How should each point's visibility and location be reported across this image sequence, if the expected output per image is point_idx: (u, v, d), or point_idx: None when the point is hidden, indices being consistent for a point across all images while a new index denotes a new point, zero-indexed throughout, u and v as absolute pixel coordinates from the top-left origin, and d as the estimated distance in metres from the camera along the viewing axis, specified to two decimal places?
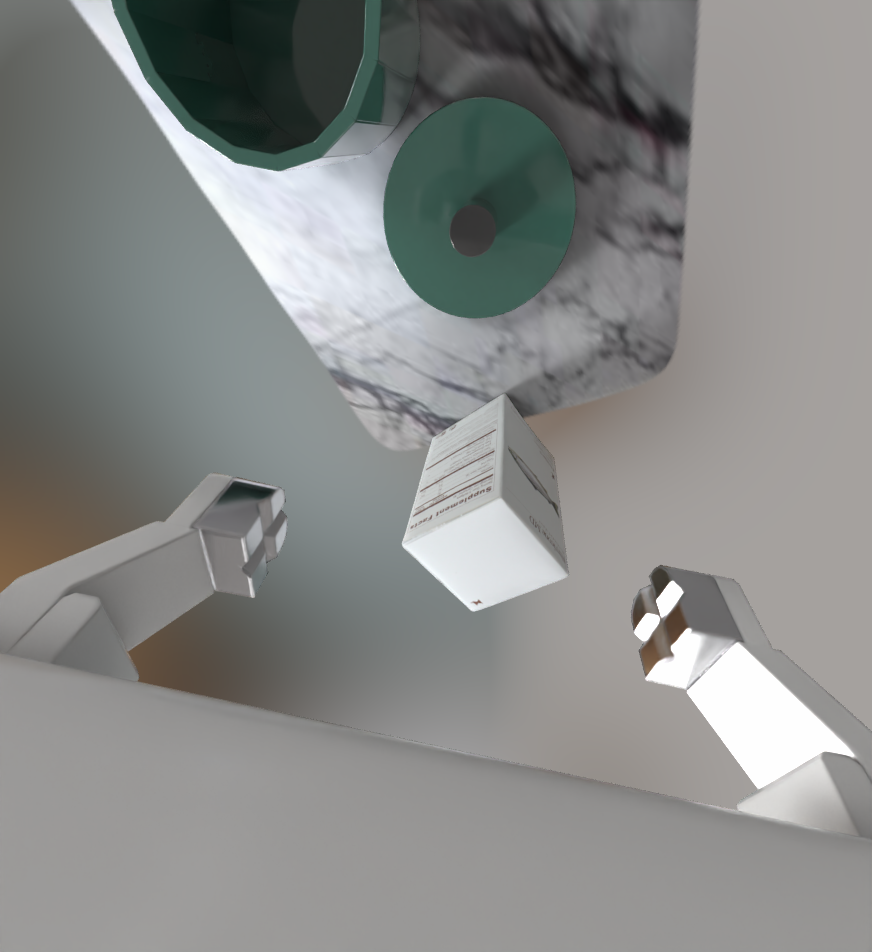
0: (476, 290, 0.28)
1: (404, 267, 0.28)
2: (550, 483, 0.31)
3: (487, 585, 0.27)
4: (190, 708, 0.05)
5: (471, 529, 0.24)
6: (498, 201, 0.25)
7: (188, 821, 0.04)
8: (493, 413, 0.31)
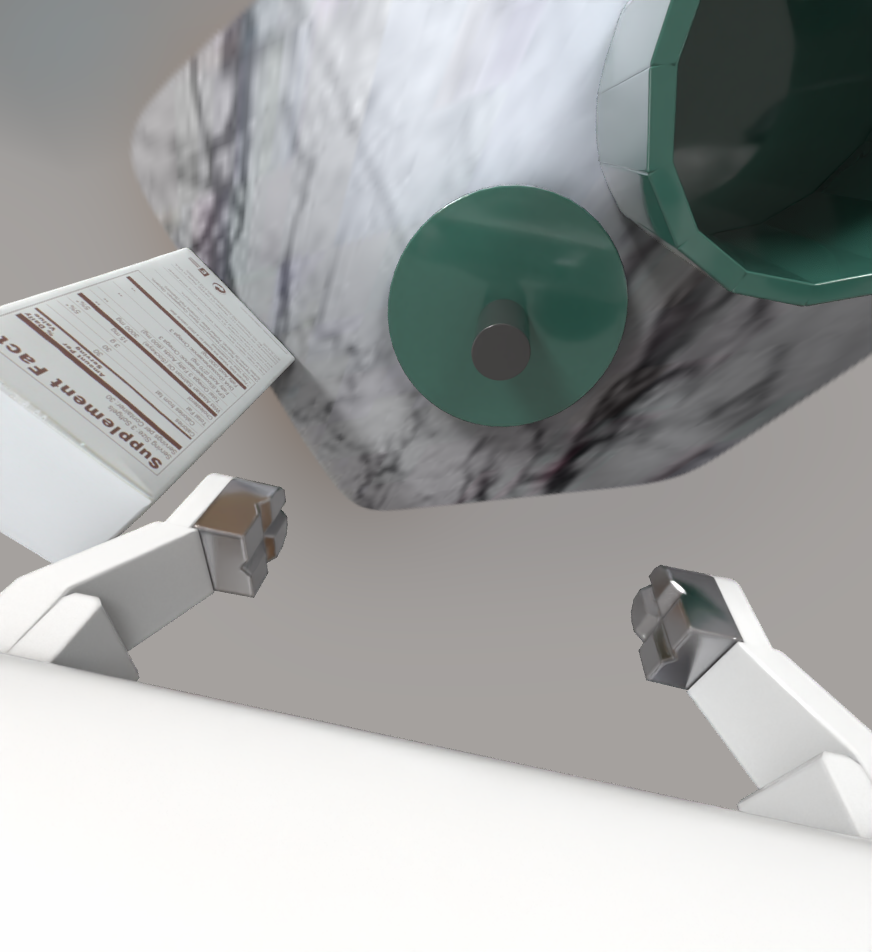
0: (423, 326, 0.21)
1: (449, 218, 0.18)
2: None
3: None
4: (190, 708, 0.05)
5: (63, 463, 0.14)
6: None
7: (188, 821, 0.04)
8: (264, 362, 0.22)
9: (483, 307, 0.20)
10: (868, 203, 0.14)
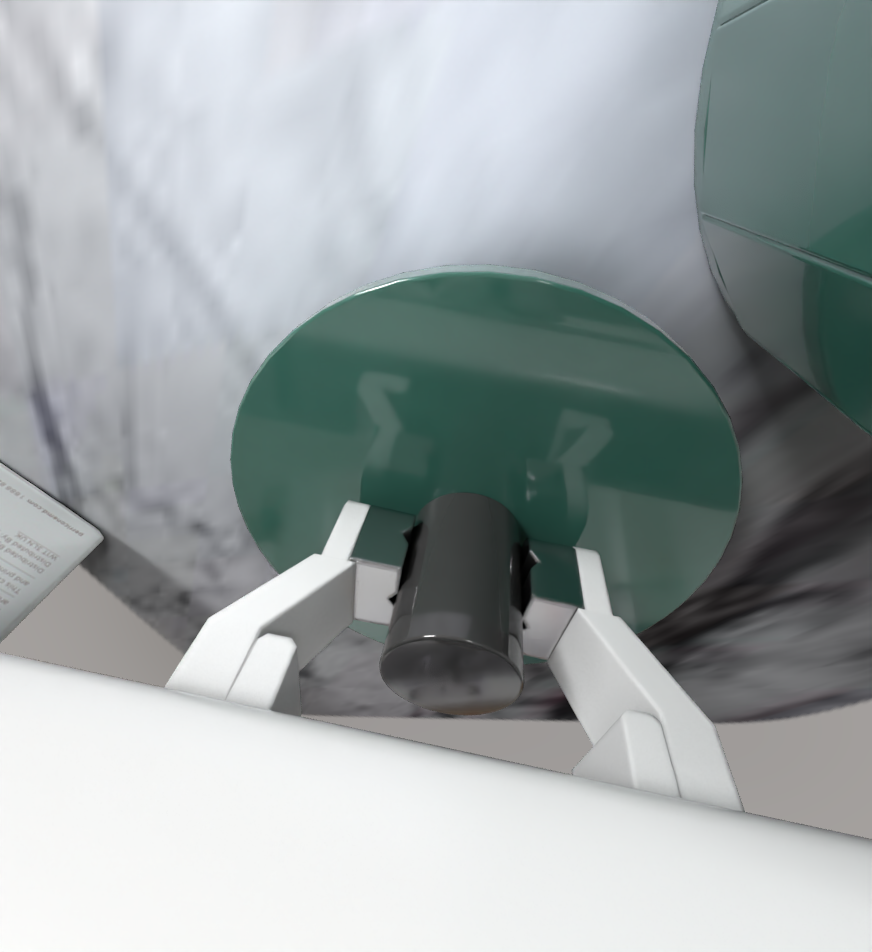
0: (309, 523, 0.11)
1: (330, 339, 0.08)
2: None
3: None
4: (190, 708, 0.05)
5: None
6: None
7: (188, 821, 0.04)
8: (8, 580, 0.11)
9: (425, 503, 0.10)
10: None
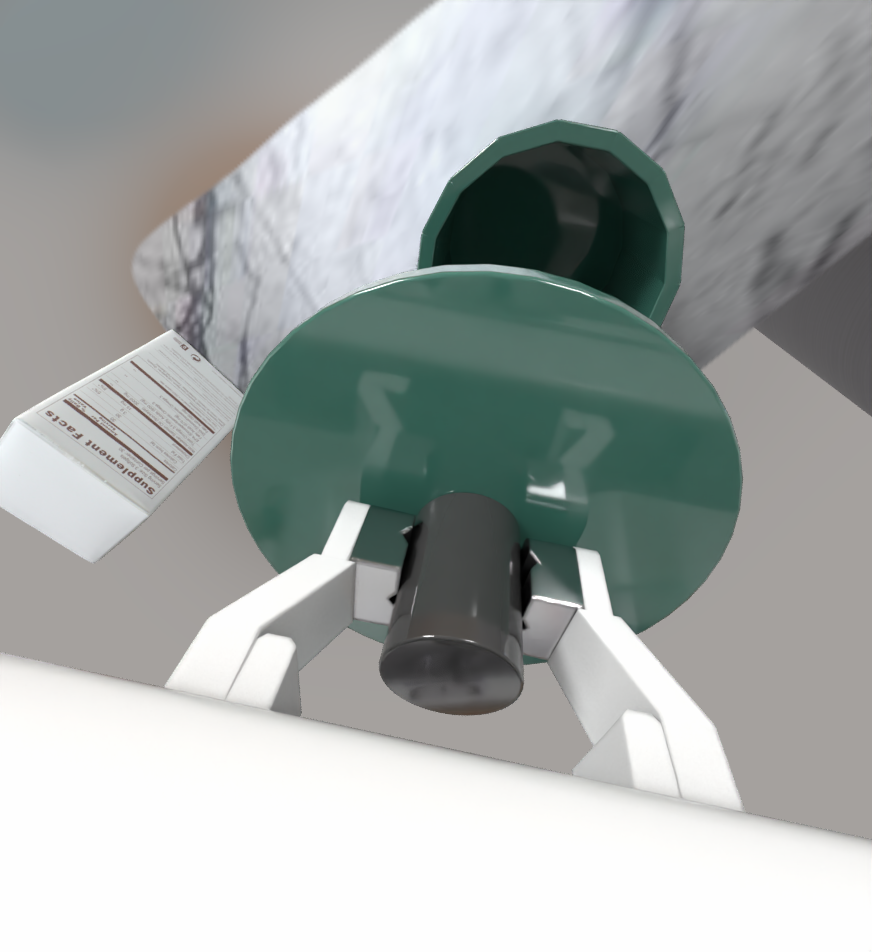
0: (309, 523, 0.11)
1: (330, 339, 0.08)
2: None
3: (25, 503, 0.24)
4: (190, 708, 0.05)
5: (93, 492, 0.22)
6: None
7: (188, 821, 0.04)
8: (229, 411, 0.31)
9: (425, 503, 0.10)
10: None
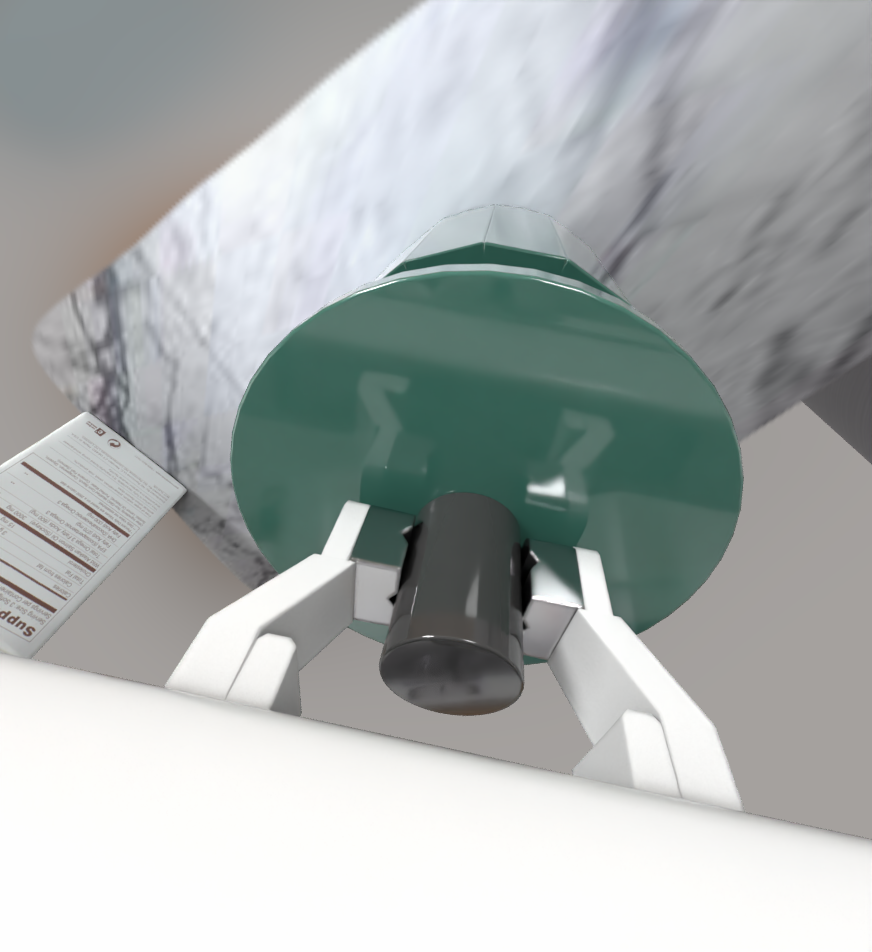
0: (309, 523, 0.11)
1: (330, 339, 0.08)
2: None
3: None
4: (190, 708, 0.05)
5: None
6: None
7: (188, 821, 0.04)
8: (152, 504, 0.27)
9: (425, 503, 0.10)
10: None
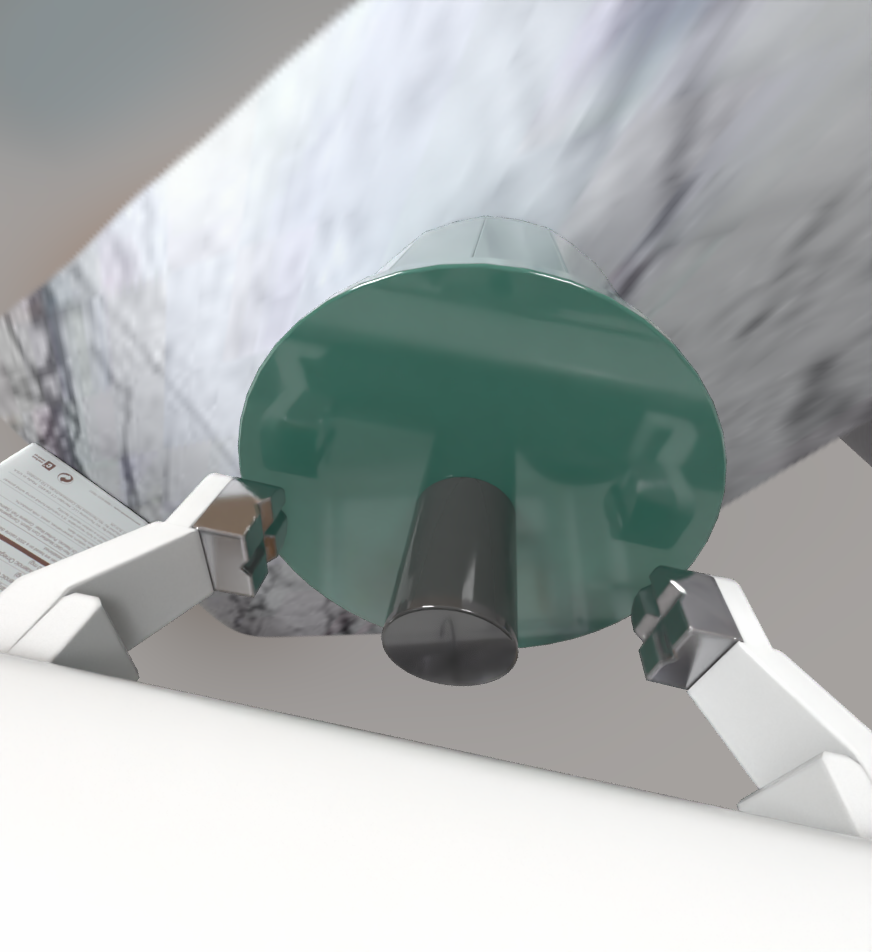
0: (313, 509, 0.11)
1: (334, 329, 0.08)
2: None
3: None
4: (190, 708, 0.05)
5: None
6: None
7: (188, 821, 0.04)
8: None
9: (424, 488, 0.10)
10: None
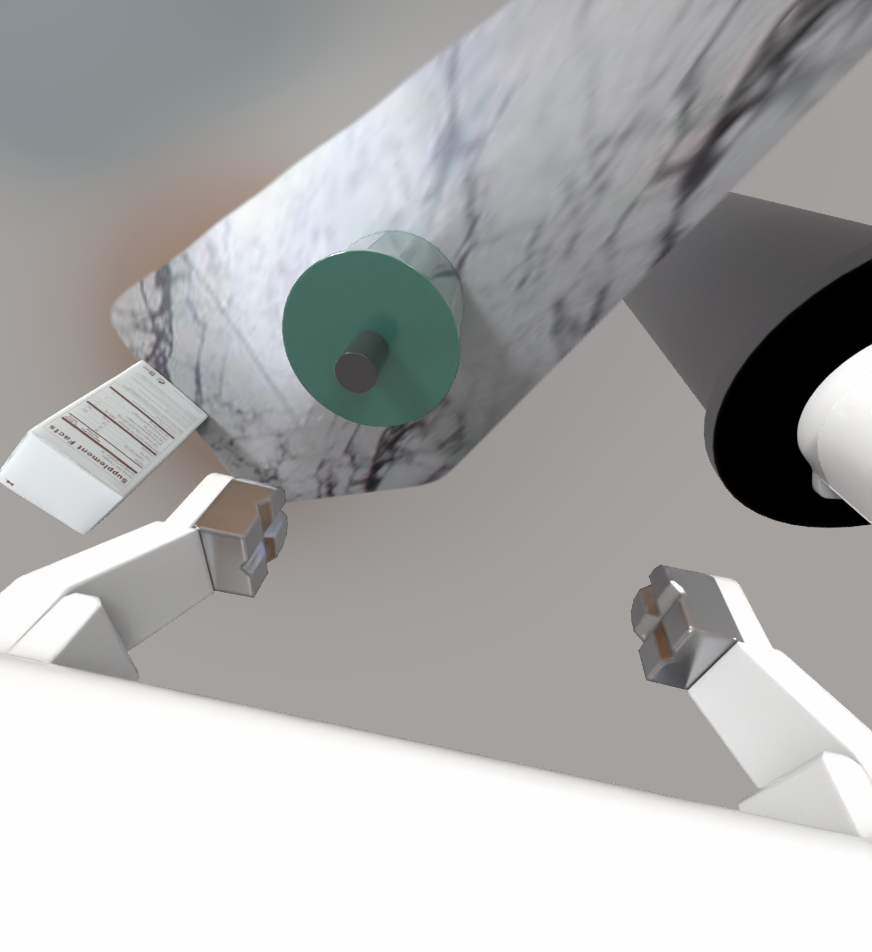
0: (311, 349, 0.28)
1: (318, 272, 0.25)
2: None
3: (34, 490, 0.33)
4: (190, 708, 0.05)
5: (83, 481, 0.32)
6: (387, 368, 0.28)
7: (188, 821, 0.04)
8: (187, 422, 0.40)
9: (353, 336, 0.27)
10: None
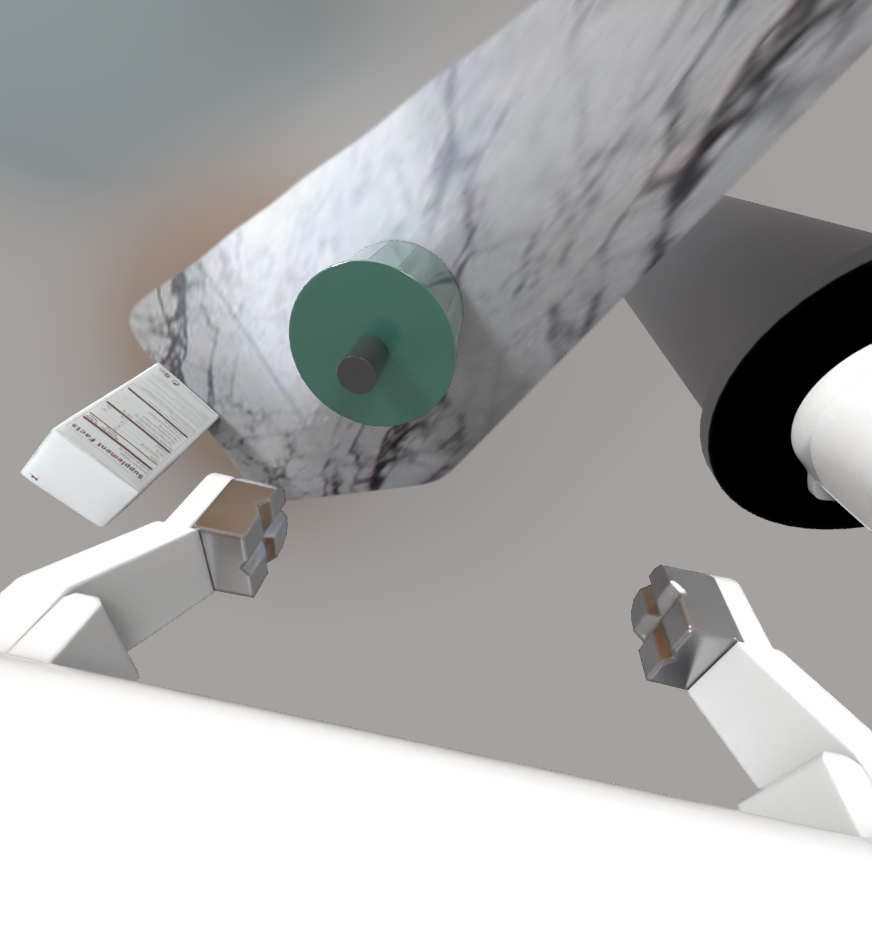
0: (316, 353, 0.29)
1: (322, 280, 0.26)
2: None
3: (57, 484, 0.35)
4: (190, 708, 0.05)
5: (102, 477, 0.34)
6: (387, 370, 0.29)
7: (188, 821, 0.04)
8: (199, 421, 0.42)
9: (355, 340, 0.28)
10: None
